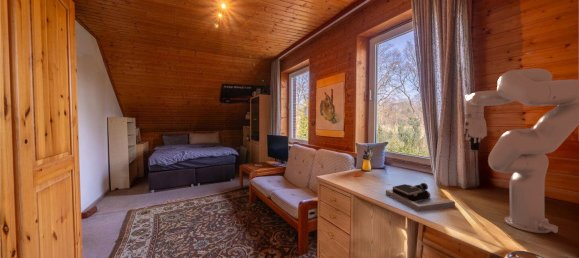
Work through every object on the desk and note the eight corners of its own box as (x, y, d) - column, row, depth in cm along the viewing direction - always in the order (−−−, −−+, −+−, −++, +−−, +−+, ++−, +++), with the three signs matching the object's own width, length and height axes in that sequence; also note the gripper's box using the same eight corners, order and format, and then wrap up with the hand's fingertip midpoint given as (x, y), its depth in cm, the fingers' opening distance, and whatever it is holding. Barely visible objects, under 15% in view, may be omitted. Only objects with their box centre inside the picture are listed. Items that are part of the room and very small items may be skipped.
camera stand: (454, 206, 108) (454, 201, 108) (418, 211, 104) (418, 206, 104) (416, 190, 134) (415, 186, 134) (385, 194, 130) (385, 190, 130)
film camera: (415, 192, 131) (436, 200, 116) (391, 197, 128) (409, 206, 114) (413, 179, 131) (434, 185, 116) (390, 184, 128) (407, 191, 114)
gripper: (469, 116, 110) (470, 151, 110) (493, 115, 112) (493, 149, 113) (456, 117, 117) (456, 150, 118) (478, 115, 120) (478, 148, 120)
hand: (474, 149), depth 115 cm, fingers closed
